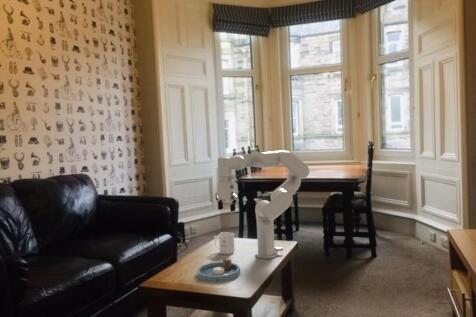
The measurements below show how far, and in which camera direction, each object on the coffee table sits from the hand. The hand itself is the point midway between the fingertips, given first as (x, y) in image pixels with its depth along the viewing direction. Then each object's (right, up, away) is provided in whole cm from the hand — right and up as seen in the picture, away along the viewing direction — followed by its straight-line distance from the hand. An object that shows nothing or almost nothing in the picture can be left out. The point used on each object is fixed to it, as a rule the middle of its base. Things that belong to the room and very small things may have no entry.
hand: (226, 210), depth 224 cm
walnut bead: (+1, -29, -14) cm, 32 cm away
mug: (-2, -27, +17) cm, 32 cm away
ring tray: (-3, -30, -19) cm, 36 cm away
